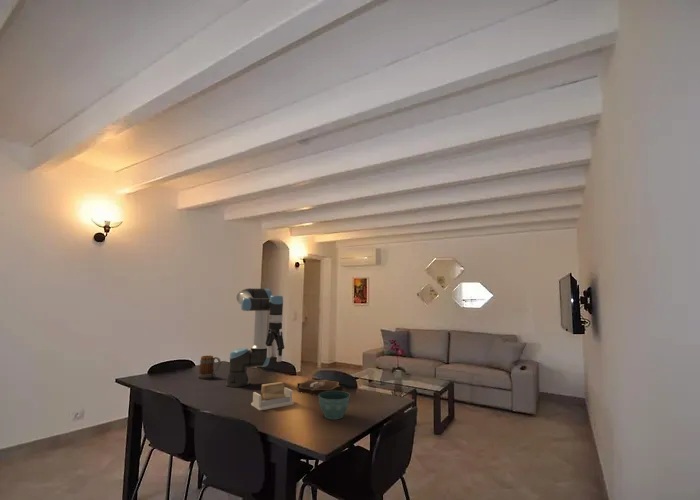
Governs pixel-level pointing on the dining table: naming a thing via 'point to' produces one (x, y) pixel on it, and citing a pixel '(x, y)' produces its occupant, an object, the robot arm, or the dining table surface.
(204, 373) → the mug
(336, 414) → the flower pot
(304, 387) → the decorative plaque
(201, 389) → the dining table surface
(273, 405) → the track
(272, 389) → the door panel
